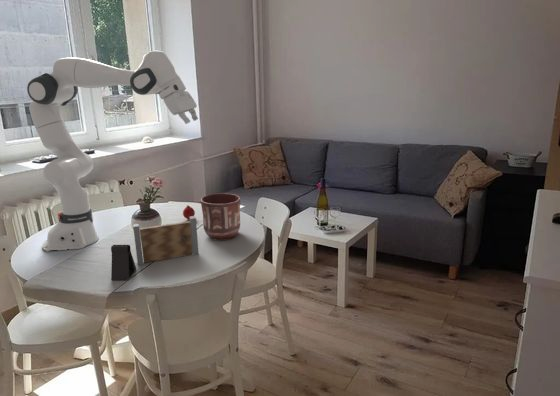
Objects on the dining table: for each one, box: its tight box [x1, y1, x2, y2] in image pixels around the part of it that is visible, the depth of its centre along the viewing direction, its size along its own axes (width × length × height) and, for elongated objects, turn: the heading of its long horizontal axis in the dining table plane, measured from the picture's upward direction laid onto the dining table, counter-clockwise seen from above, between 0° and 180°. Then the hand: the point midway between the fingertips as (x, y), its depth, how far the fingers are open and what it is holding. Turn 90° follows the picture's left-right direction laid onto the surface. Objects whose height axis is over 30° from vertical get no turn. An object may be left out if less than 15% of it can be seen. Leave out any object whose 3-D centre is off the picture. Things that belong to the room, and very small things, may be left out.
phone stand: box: [110, 244, 137, 281], centre depth 157 cm, size 9×6×12 cm, turn 177°
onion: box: [182, 204, 196, 221], centre depth 215 cm, size 6×6×8 cm
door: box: [139, 220, 193, 264], centre depth 169 cm, size 19×3×14 cm, turn 112°
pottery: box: [200, 192, 241, 241], centre depth 192 cm, size 18×18×18 cm
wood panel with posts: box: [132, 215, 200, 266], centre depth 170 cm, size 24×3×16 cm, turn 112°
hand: (192, 121), depth 168 cm, fingers open, 8 cm apart
